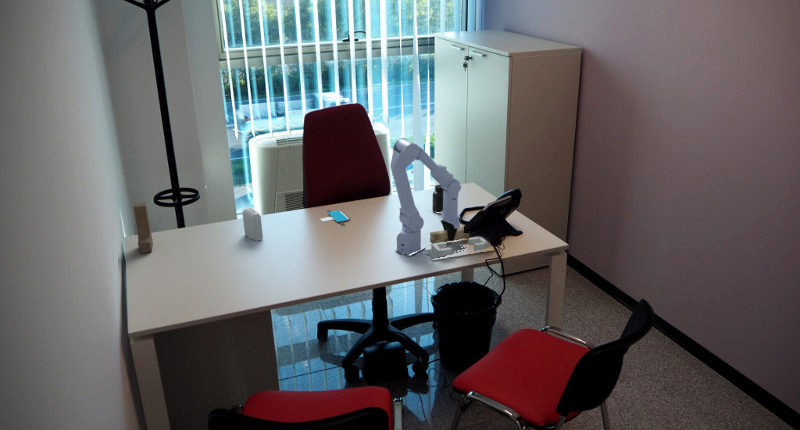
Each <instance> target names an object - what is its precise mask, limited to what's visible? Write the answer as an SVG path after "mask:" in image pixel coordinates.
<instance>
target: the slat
mask: <svg viewBox="0 0 800 430" xmlns="http://www.w3.org/2000/svg"><path fill="white" fill-rule="evenodd" d="M464 227H465V226H464ZM464 227H460V228H458V229H457V231H456V234H455V238H454V240H459V239H462V238H467V237H469V238H470V232H469V233H464ZM454 240H450V241H454ZM447 241H449V240H448V233H447V230H444V229H443V230H438V231H431V232H430V233H429V243H430V242H431V243H432V244H434V243H440V242H447Z"/></svg>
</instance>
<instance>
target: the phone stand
mask: <svg viewBox="0 0 800 430" xmlns="http://www.w3.org/2000/svg"><path fill="white" fill-rule="evenodd" d="M326 211H327V213H328V215H330V216H328V217H321V218H320V221H321V222H323V223H325V222H331V221H336V222H337V223H339V224H340V225H341V226H343V227H344V226H346V223H345V222H347V221H351V219H350V216H348V215H347V214H346V213H345V212H344V211H343V210H342V209H340V210H334V211H332V210H330V209H327V210H326Z"/></svg>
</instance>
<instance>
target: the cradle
mask: <svg viewBox="0 0 800 430" xmlns="http://www.w3.org/2000/svg"><path fill="white" fill-rule="evenodd" d="M467 243H468V244H469V245H474V250H475V251H477V250H482V249H486V248H488V247H489V244H490V243H489V241H487V240H486V239H485V238H484V237H482V236H481V235H480V236H474V237H469V238H468V240H467ZM462 244H463V243H462ZM462 244H455V245H449V246H447V244H446V243H445V242H440V243H434V244H430V246H431V249H424V252H425V251H426V252H427V253H428V255H429V256H430V257H431V258H432V259H435V258H440V257H445V256H447V255H452V254H454V252H455V251H456V252H455V253H458V252H457V251H458V250H462V249H465V248H466V247H465V248H464V247H463V245H462ZM460 245H462V246H460ZM461 247H463V248H461ZM463 251H464V250H463ZM459 252H461V251H459ZM428 255H427V256H428Z"/></svg>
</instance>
